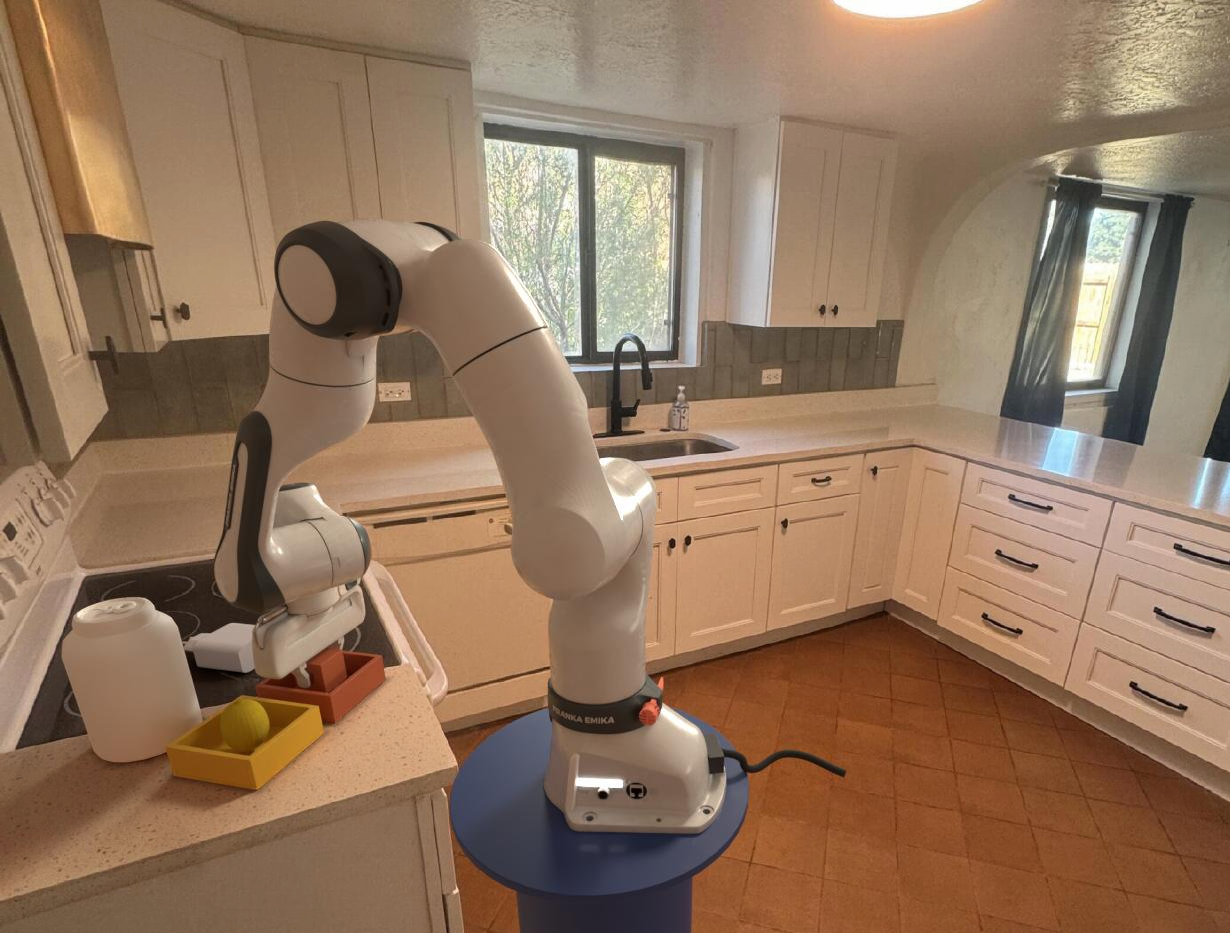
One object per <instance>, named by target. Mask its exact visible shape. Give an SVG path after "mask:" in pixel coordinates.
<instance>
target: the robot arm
mask: <svg viewBox="0 0 1230 933" xmlns="http://www.w3.org/2000/svg"><path fill="white" fill-rule="evenodd" d="M273 272H274V280H275V287H274V293H273V298H272V304H271V312H270V313H271V314H270V320H269V333H268V334H269V335H268V336H269V337H268V359H269V360H268V362H269V364H268V365H269V370H268V378H267V382H266V385H265V388H264V391H263V393H262V395H261V397H260V399H259V402H258V403H257V404H256V406H255V407H254V409H253V410H252V411H250V412H249V413H248V414H246V415H245V416H244V417H243V418H242V419H241V420H240V422H239V425H238V427H237V432H236V435H235V441H234V445H233V451H232V456H231V464H230V472H229V478H228V479H229V481H228V488H227V494H226V503H225V511H224V518H223V527H222V531H221V536H220V539H219V542H218V545H217V548H216V551H215V554H214V560H213V574H214V580H215V582H216V586H217V589H218V591H219V593H220V595H221V597H222V598H223V599H224V601H225V602H226V603H227V604H229V605H231V606H233V607H235V608H237V609H240V610H243V611H246V612H249V613H253V614H257V615H260V616H259V617H258V618H257V622H256V623H255V624H254V625H255V627H254V628H253V630H252V651H253V661H254V667H255V668H254V672H255V673H256V674H257V675H258V676H259V677H261V678H264V679H267V678H270V679H282V678H283V677H285V676H286V675H288V674H289V673H290V672H291V673H292V674H293V675H294V676H295V677H296V678H297V682H298V686H299V687H302V688H308V687H309V686H311V685H312V684H313V683H314V682H315V681H314V675H313V673H307V672H306V671H305V670H304V668H306V667H307V665H306V661H308V660H309V659H311V658H312V657H313V656H315V655H316V654H318V653H319V652H321V651H322V650H324V649H325V648H333V649H341V650H343V647H344V644H345V637H344V636H345V635H347V634H348V633H350V632H351V631H352V630H354V629H355V628H357V627H358V626H359V625H361V624H362V623H364V620H365V617H366V606H365V605H366V604H365V599H364V594H363V589H362V587H361V586H360V584H361V579H362V578H363V577H364V576H365V574H366V573H367V571H368V569H369V567H370V564H371V561H372V555H373V554H372V552H373V551H372V545H371V540H370V537H369V534H368V531H367V529H366V527H365V526H364V525H362V524H361V523H359V522H358V521H357V520H355V519H354V518H352V517H350V516H347V515H345V514H339V513H337V512H336V511H334V510H333V509H332V508H331V507H329V506H328V505H327V504H326V503H325V501H323V499H322V496H321V493H320V492H319V490H318V488H317V486H316V485H315V484H313V483H309V482H294V483H289V484H283V483H284V481H285V480H286V479H287V478H288V477H289V476H290V475H291V474H292V473H293V472H295V471H296V470H297V469H299V468H300V467H301V466H302V465H304V464H306V463H308V462H309V461H310V460H313V459H314V458H316V457H318V456H320V455H321V454H323V453H325V452H327V451H330V450H332V449H334V448H336V447H338V446H341V445H343V444H344V443H346V442H348V441H350V440H351V439H352V438H354V437H355V436H356V435H358V433H360V432H361V431H362V430H363V429H364V428H365V426H366V425H367V424H368V423H369V421H370V418H371V416H372V413H373V410H374V408H375V401H376V394H377V348H378V341H379V338H380V337H382V336H383V337H385V336H391V335H392V336H393V335H395V336H396V335H397V336H402V335H403V336H404V335H408V334H412V333H416V332H420V333H421V334H422V335H424V336H425V337H426V338H427V339H428V340H429V341H430V342H431V343H432V345H433V346H434V348H435V350H436V351H437V353H438V354H439V356H440V358H441V360H442V362H443V364H444V366H445V368H446V369H447V371H448V373H449V375H450V377H451V378H452V381H453V382H454V383H455V385H456V387H457V389H458V391H459V393H460V394H461V396H462V398H463V400H464V402H465V403H466V405H467V407H468V409H469V411H470V413H471V414H472V416H473V417H474V420H475V421H476V423H477V425H478V428H479V429H480V431H481V433H482V434H483V436H484V438H485V441H486V442H487V444H488V446H489V449H490V451H491V453H492V456H493V458H494V462H495V464H496V468H497V470H498V473H499V476H500V480H501V483H502V487H503V491H504V494H505V497H506V501H507V505H508V509H509V513H510V519H511V538H510V554H511V560H512V563H513V567H514V568H515V570H516V572H517V574H518V575H519V577H520V578H521V580H522V581H523V582H524V584H526V585H527V587H529V588H530V589H532V590H533V591H534V592H535V593H537V594H539V595H540V596H542V597H545V598H548V599H551V600H552V603H551V606H550V609H549V612H548V616H547V640H548V656H549V672H550V677H549V678H548V680H547V695H546V698H547V699H546V700H547V708H548V710H549V718H550V721H551V722H552V735H551V747H550V755H549V760H548V765H547V769H546V772H545V776H544V781H543V784H544V790H545V793H546V795H547V797H548V798H549V799H550V801H551V802H552V803H553V804H554V805H555V806H557V807H558V808H559V809H560V810H561V811H562V812H563V813H564V816H565V819H566V821H567V824H568V826H569V827H570V828H571V829H572V830H574V831H583V832H630V833H678V834H697V833H701V832H703V831H704V830H705V829H707V828H708V827H709V826H710V825H711V824H712V823H713V822H714V821H715V819H716V818H717V816H718V814H719V813H720V811H721V808H722V806H723V802H724V798H725V794H726V784H727V781H726V771H725V767H724V757H728V758H733V759H736V760H737V761H739V763H740V767H741V769H742V770H743V771H745V772H747V774H757V773H759V772H761V771H763V770H765V769H766V768H768V767H769V766H770V765H772V764H773V763H775V762H777V761H779V760H782V759H787V758H790V759H798V760H799V759H800V760H803V761H806V762H808V763H810V764H814V765H815V766H818V767H820V768H822V769H824V770H826V771H828V772H830V773H832V774H834V775H837V776H839V777H841V778H845V776H846V774H847V769H845V768H843V767H841V766H838V765H835V764H833V763H831V762H829V761H827V760H825V759H823V758H821V757H819V756H816V755H814V754H811V753H809V752H806V751H803V750H797V749H781V750H778V751H775V752H773V753H772V754H770V755H768V756H766V757H765V758H764V759H762V760H761V761H760V762H758V763H756V764H749V762H748V759H747V757H746V756H745V755H744V754H743V753H741V752H740V751H737V750H736V751H734V750H728V749H723V748H721V747H720V744H719V741H718V739H717V736H716V734H705V735H703V734H702V732H701V730H700V729H699V728H698V727H697V726H696V725H694V724H693V723H691V722H690V721H688V720H687V719H685V718H684V717H682V716H681V715H679V714H678V713H677V712H675V711H674V710H672V709H671V708H669V707H670V706H669V705H667V704H665V703H664V702H663V691H664V677H663V676H661V677H660V680H659V681H658V683H656V682H654V680H653V679H652V678H651V677H650V676H649V674H648V672H647V671H646V621H647V619H646V618H647V606H648V599H649V591H650V585H651V584H650V583H651V576H652V566H653V557H654V556H653V555H654V544H655V530H656V519H657V518H656V517H657V510H658V502H659V501H658V500H659V497H658V490H657V486H656V483H655V481H654V478H653V477H652V476H651V474H650V473H649V472H648V471H647V470H646V469H645V467H643V466H642V465H641V464H639V463H638V462H636V461H634V460H631V459H628V458H625V457H604V458H600V456H599V453H598V452H599V451H598V449H597V446H596V443H595V439H594V437H593V432H592V429H591V425H590V420H589V414H588V413H589V412H588V411H589V410H588V408H589V406H588V401H587V396H586V395H585V393H584V391H583V389H582V387H581V384H580V383H579V381H578V379H577V378H576V375H575V374H574V371H573V370H572V368H571V365H570V364H569V361H568V360H567V359H566V357H565V355H564V352H563V351H562V348H561V347H560V345H559V343H558V341H557V339H556V338H555V336H554V334H553V332H552V330H551V328H550V326H549V324H548V322H547V321H546V319H545V317H544V315H543V313H542V312H541V310H540V308H539V306H538V305H537V303H536V301H535V300H534V298H533V297H532V295H531V293H530V292H529V290H528V289H527V288H526V286H525V284H524V283H523V282H522V280H521V279H520V278H519V276H518V275H517V273H516V272H515V270H514V269H513V268H512V267H511V265H510V264H509V263H508V262H507V260H506V259H505V257H504V256H502V254H501V253H500V251H499V250H497V249H496V247H494V246H493V245H491V244H490V243H488V242H485V241H483V240H480V239H475V238H462V237H460V236H459V235H458V234H456V233H455V232H453V231H452V230H451V229H449V228H446V227H443V226H441V225H438V224H434V223H431V222H426V221H414V222H409V221H401V220H393V219H391V220H387V219H385V218H378V217H367V218H366V217H365V218H353V219H346V220H341V221H332V220H319V221H314V222H311V223H307V224H303V225H300V226H298V227H296V228H294V229H292V230H290V231H289V232H287V233H286V234H285V235H284V236H283V237H282V239H281V240H280V241H279V243H278V245H277V248H276V251H275V254H274V260H273ZM668 706H669V707H668Z"/></svg>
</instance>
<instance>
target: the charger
mask: <svg viewBox="0 0 1230 933" xmlns="http://www.w3.org/2000/svg"><path fill="white" fill-rule="evenodd" d="M255 625H256V624H249V623H248V624H246V623H238V622H231V623H228V624H225V625H224V626H221V627H220V628H218V629H216V630H214V631H213V632H211V633H208V632H206V633H203V632H201V633H199V634H197V635H195V636H190V637H189V639H188V641H182V640H181V641H182V644H183V648H184V652H188V653H193V655H194V660H195V663H196V666H197V667H198V668H204V669H212V670H221V671H228V672H234V673H235V672H237V673H245V674H246V673H250V672H251V671H253V670H255V667H254V661H253V651H252V630H253V628H254V627H255Z"/></svg>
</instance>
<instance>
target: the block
mask: <svg viewBox="0 0 1230 933" xmlns="http://www.w3.org/2000/svg"><path fill="white" fill-rule="evenodd" d="M342 650H343V649H342ZM342 650H341V649H333V648H329V647H326V648H325V649H324V650H322V651H321V652H319V653H318V654H316V655H315V656H313V657H312V658H311V659H309V660H308V661H306V665H307V667H306V668H304V670H305V671H306V672H307V673H313V675H314V681H315V682H314V683H313V684H312V685H311V686H309V687H308V688H302V687H299V686H298V682H297V678H296V677H295V681H296V686H297V689H301V690H309V691H316V692H323V693H329V692H330V691H331V690H332V689H334V688H335V687H336V686H337V685H339V684H340V683H341V682H342V681H344V680H345V679H346V678H347V674H346V668H345V663H344V657H343V652H342Z"/></svg>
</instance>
